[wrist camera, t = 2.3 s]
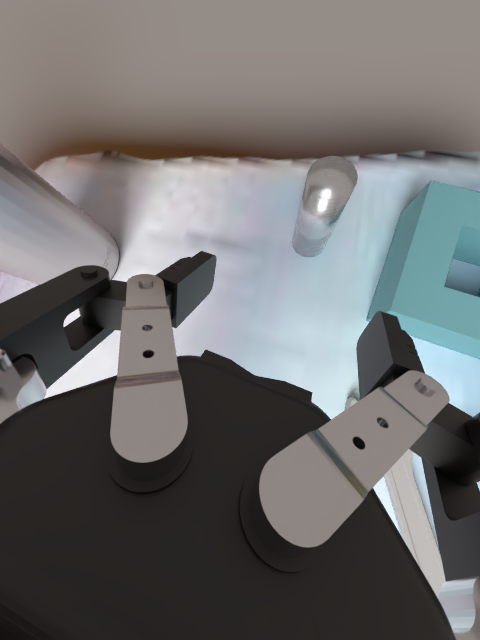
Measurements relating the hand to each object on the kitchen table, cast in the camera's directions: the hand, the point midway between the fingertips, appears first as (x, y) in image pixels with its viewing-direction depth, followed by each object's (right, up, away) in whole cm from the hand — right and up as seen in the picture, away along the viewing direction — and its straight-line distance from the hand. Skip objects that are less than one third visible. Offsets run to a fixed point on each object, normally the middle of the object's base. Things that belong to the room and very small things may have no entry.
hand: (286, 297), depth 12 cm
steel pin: (+6, +8, +16) cm, 18 cm away
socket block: (+19, +3, +14) cm, 24 cm away
